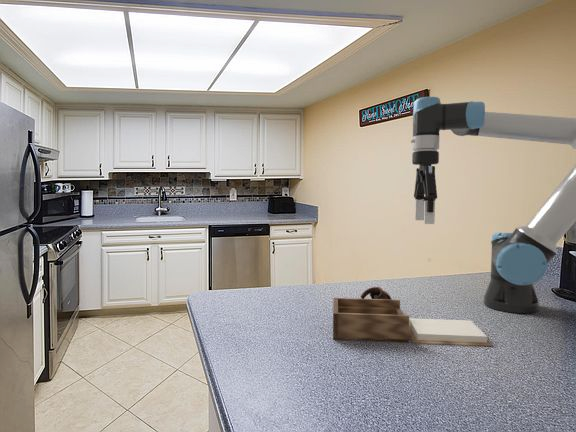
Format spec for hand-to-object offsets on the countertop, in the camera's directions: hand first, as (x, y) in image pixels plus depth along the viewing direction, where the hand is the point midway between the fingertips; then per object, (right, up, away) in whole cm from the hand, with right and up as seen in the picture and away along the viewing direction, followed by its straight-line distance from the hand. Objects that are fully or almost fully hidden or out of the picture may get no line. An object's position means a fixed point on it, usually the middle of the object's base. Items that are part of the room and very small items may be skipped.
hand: (424, 222), depth 124 cm
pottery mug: (-14, -27, +1) cm, 30 cm away
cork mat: (-1, -28, -20) cm, 34 cm away
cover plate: (-1, -28, -20) cm, 34 cm away
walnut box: (-20, -28, -18) cm, 39 cm away
